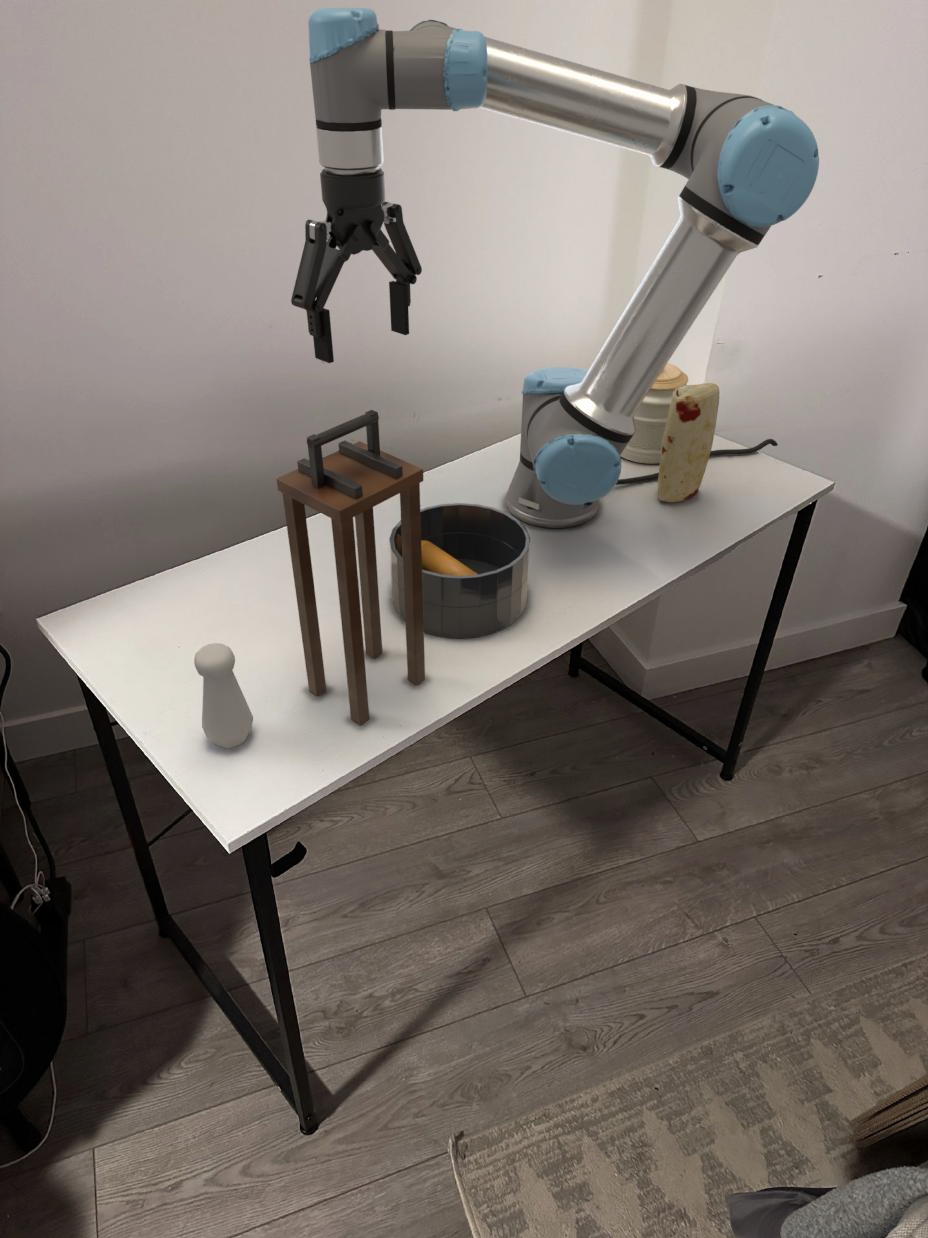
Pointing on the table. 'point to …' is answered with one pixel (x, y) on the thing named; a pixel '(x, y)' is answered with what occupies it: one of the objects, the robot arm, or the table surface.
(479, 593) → the pot
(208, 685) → the salt shaker
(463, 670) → the table surface
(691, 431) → the food model
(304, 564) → the shelf stand
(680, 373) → the jar
